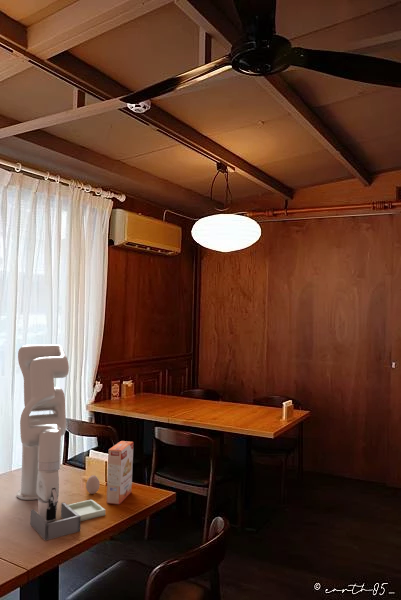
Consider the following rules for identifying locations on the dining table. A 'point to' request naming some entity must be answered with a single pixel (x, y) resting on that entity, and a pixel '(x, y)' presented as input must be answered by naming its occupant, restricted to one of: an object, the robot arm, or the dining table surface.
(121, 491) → the cracker box
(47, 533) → the bay
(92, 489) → the egg
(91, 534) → the dining table surface
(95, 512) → the tray
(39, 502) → the white cylinder
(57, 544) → the dining table surface
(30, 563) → the dining table surface
